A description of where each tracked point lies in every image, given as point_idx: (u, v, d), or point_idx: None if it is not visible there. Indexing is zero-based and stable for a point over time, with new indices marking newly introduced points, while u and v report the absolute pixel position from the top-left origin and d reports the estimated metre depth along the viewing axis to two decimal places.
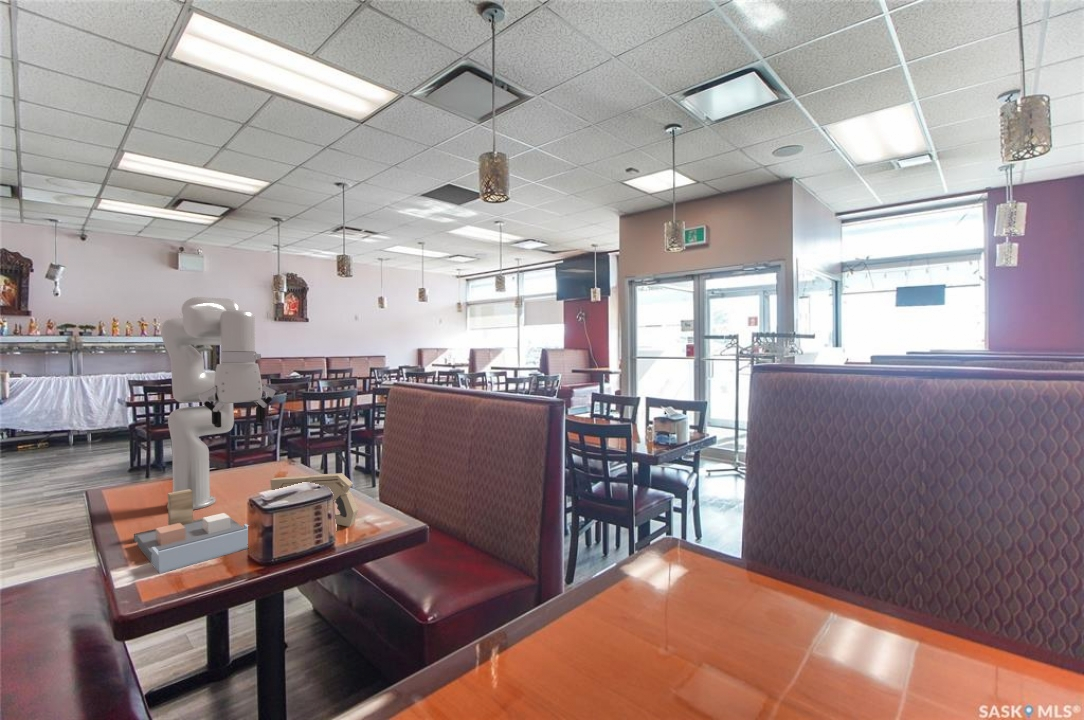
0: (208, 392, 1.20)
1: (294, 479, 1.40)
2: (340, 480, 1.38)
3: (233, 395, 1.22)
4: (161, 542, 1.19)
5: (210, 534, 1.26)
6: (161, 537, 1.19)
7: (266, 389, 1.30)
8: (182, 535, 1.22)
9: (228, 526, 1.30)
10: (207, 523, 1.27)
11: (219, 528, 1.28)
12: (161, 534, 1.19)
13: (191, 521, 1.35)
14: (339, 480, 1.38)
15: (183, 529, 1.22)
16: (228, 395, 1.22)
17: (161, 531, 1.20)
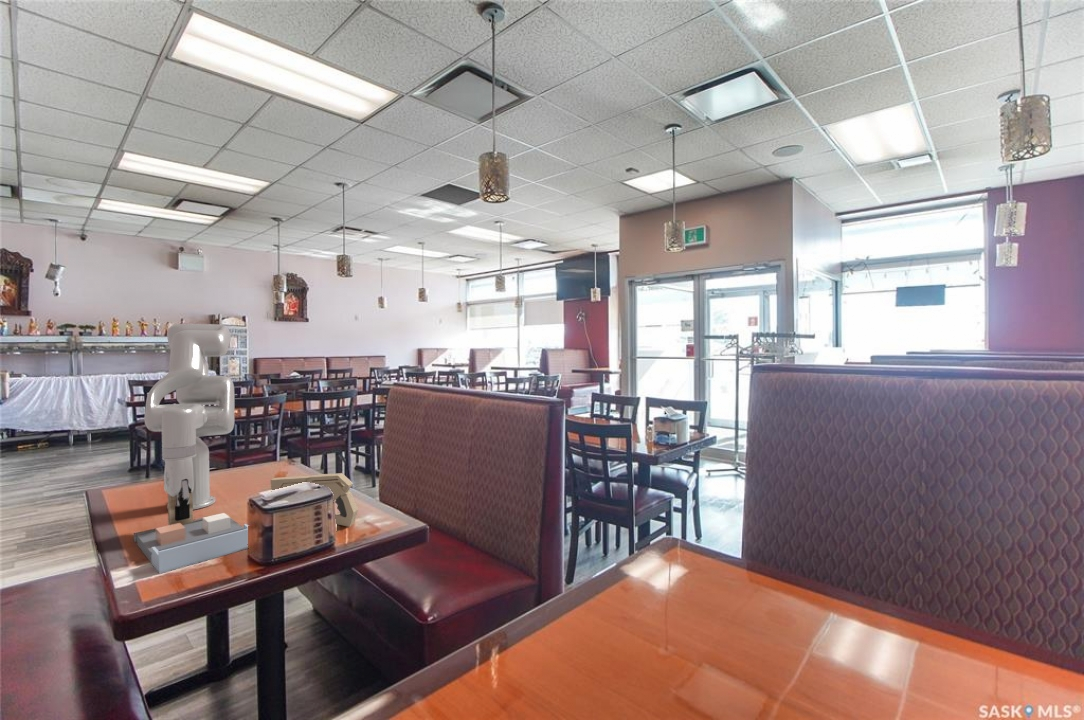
0: None
1: (294, 479, 1.40)
2: (340, 480, 1.38)
3: None
4: (161, 542, 1.19)
5: (210, 534, 1.26)
6: (161, 537, 1.19)
7: None
8: (182, 535, 1.22)
9: (228, 526, 1.30)
10: (207, 523, 1.27)
11: (219, 528, 1.28)
12: (161, 534, 1.19)
13: (191, 520, 1.35)
14: (339, 480, 1.38)
15: (183, 529, 1.22)
16: None
17: (161, 531, 1.20)
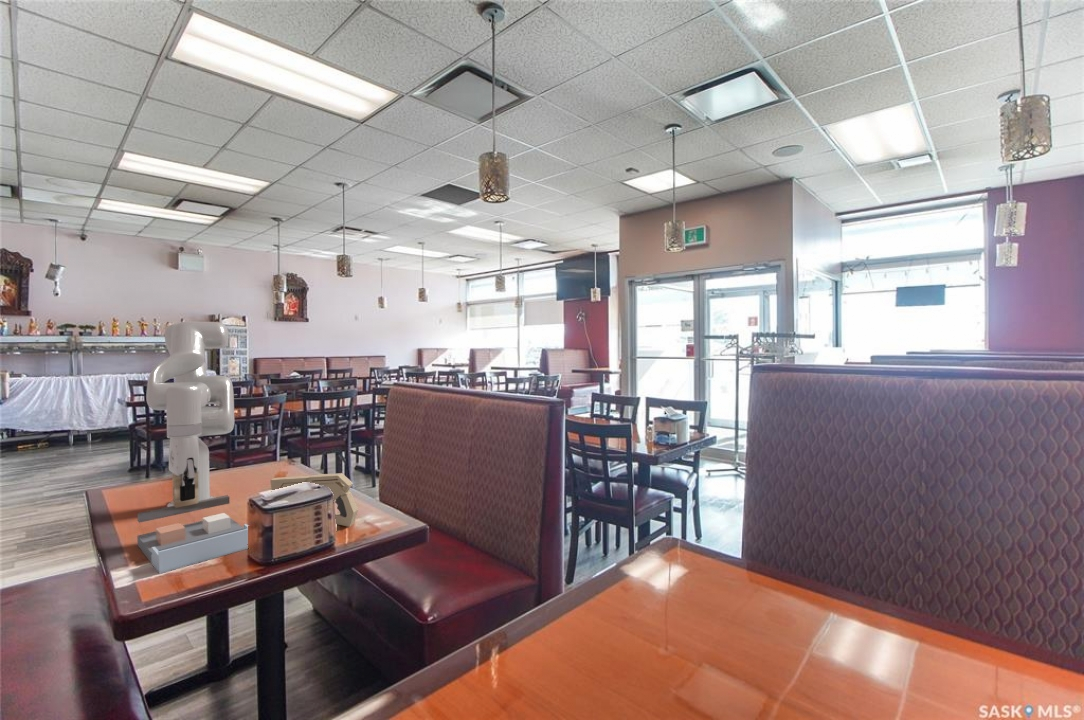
0: None
1: (294, 479, 1.40)
2: (340, 480, 1.38)
3: None
4: (161, 542, 1.19)
5: (210, 534, 1.26)
6: (161, 537, 1.19)
7: None
8: (182, 535, 1.22)
9: (228, 526, 1.30)
10: (207, 523, 1.27)
11: (219, 528, 1.28)
12: (161, 534, 1.19)
13: (196, 501, 1.31)
14: (339, 480, 1.38)
15: (183, 529, 1.22)
16: None
17: (161, 531, 1.20)
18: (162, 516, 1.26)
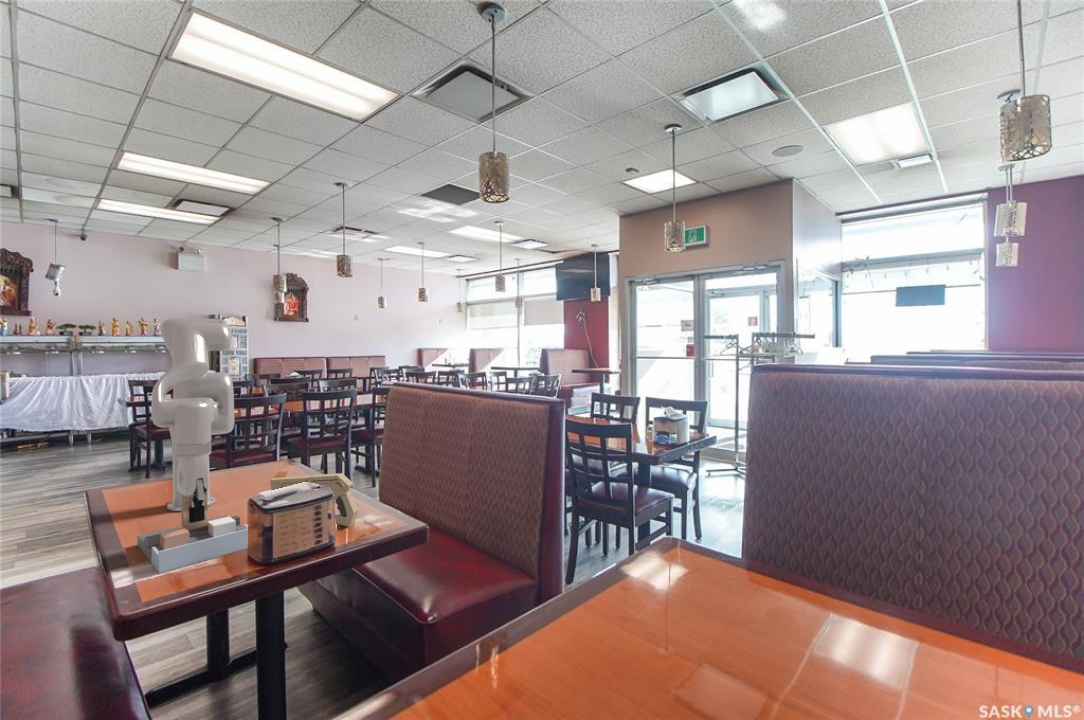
0: None
1: (294, 479, 1.40)
2: (340, 480, 1.38)
3: None
4: (165, 547, 1.16)
5: None
6: (165, 542, 1.16)
7: None
8: (186, 540, 1.19)
9: (234, 530, 1.27)
10: (212, 527, 1.24)
11: (224, 532, 1.26)
12: (165, 539, 1.16)
13: (206, 523, 1.26)
14: (339, 480, 1.38)
15: (187, 533, 1.20)
16: None
17: (165, 536, 1.17)
18: None
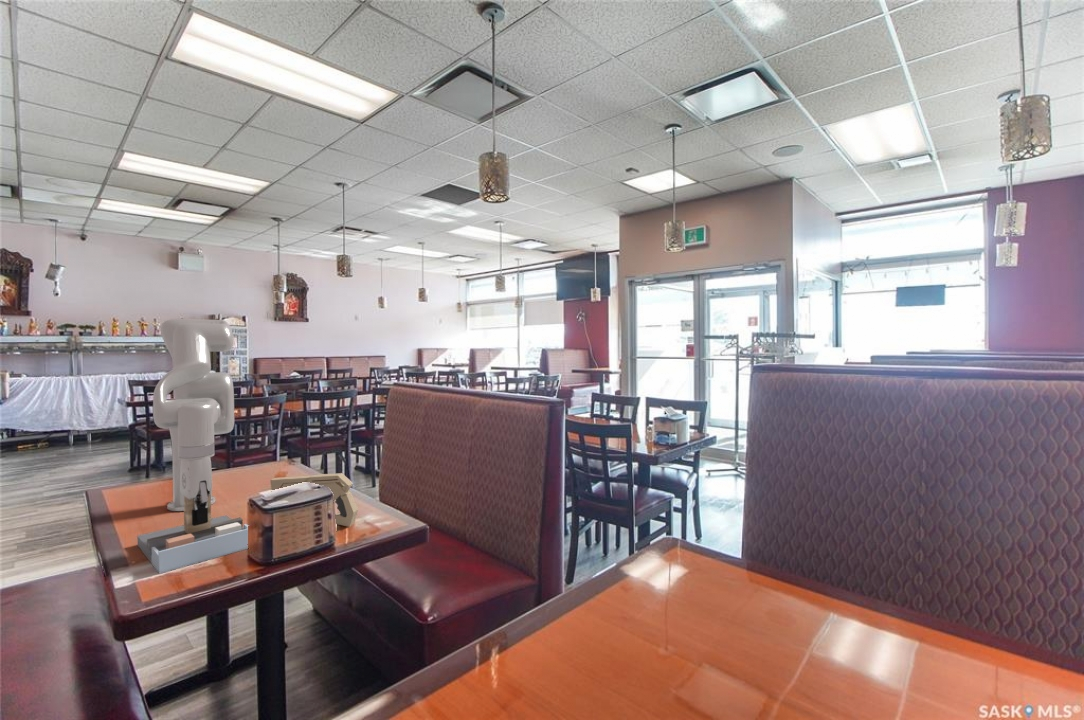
0: None
1: (294, 479, 1.40)
2: (340, 480, 1.38)
3: None
4: None
5: None
6: None
7: None
8: None
9: None
10: None
11: None
12: None
13: (208, 526, 1.25)
14: (339, 480, 1.38)
15: None
16: None
17: None
18: None
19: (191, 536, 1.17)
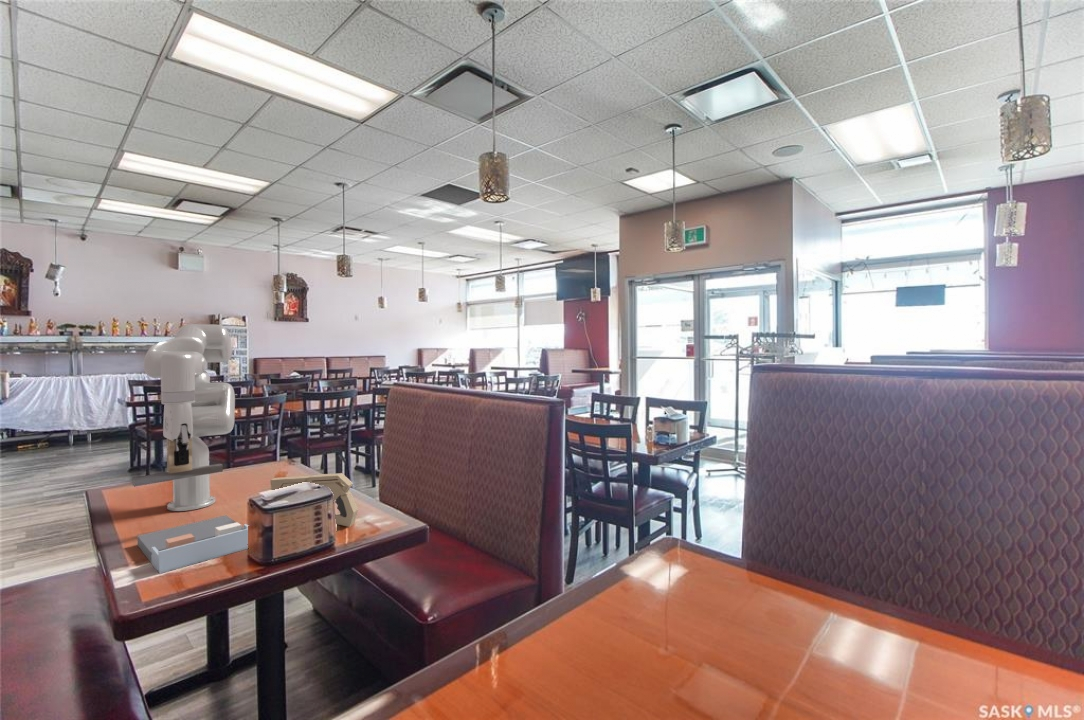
0: None
1: (294, 479, 1.40)
2: (340, 480, 1.38)
3: None
4: None
5: (210, 534, 1.26)
6: None
7: None
8: None
9: None
10: None
11: None
12: None
13: (190, 468, 1.35)
14: (339, 480, 1.38)
15: None
16: None
17: None
18: (156, 481, 1.30)
19: (191, 536, 1.17)
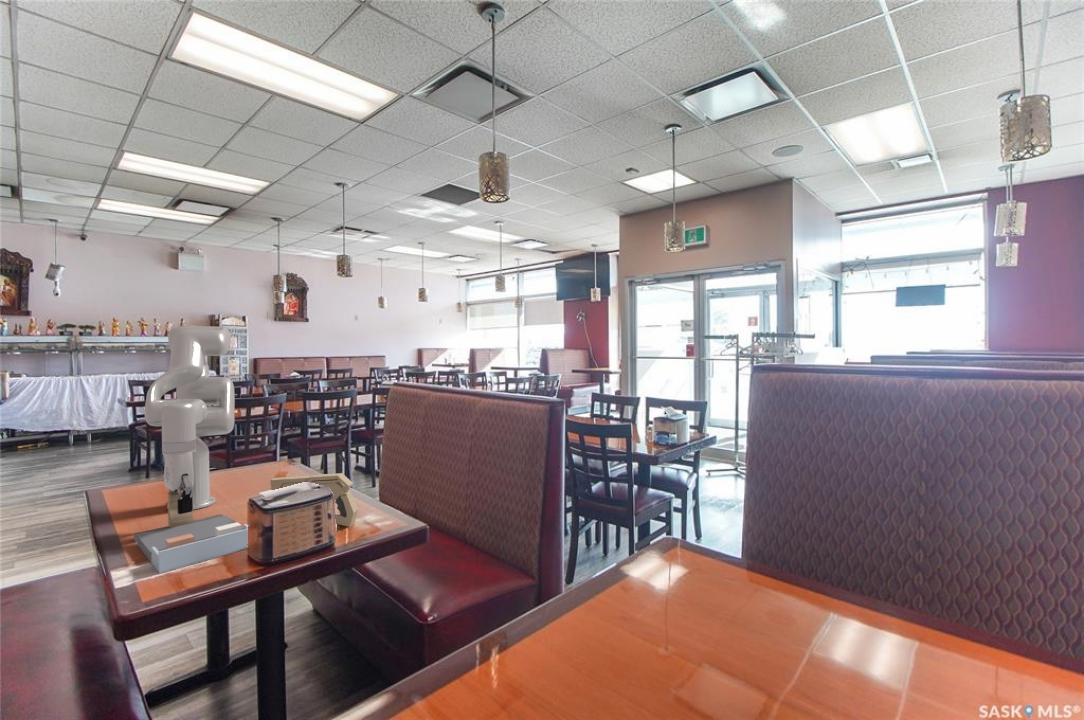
0: None
1: (294, 479, 1.40)
2: (340, 480, 1.38)
3: None
4: None
5: (210, 534, 1.26)
6: None
7: None
8: None
9: None
10: None
11: None
12: None
13: (191, 521, 1.35)
14: (339, 480, 1.38)
15: None
16: None
17: None
18: None
19: (191, 536, 1.17)
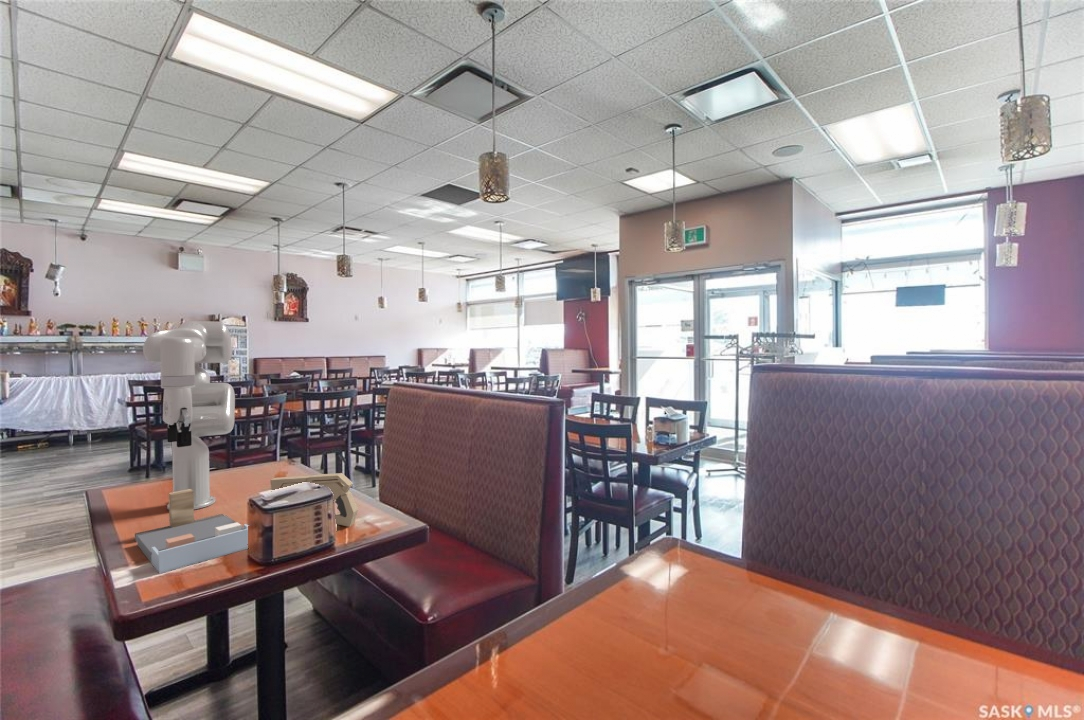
0: None
1: (294, 479, 1.40)
2: (340, 480, 1.38)
3: None
4: None
5: (210, 534, 1.26)
6: None
7: None
8: None
9: None
10: None
11: None
12: None
13: (192, 521, 1.36)
14: (339, 480, 1.38)
15: None
16: None
17: None
18: None
19: (191, 536, 1.17)
